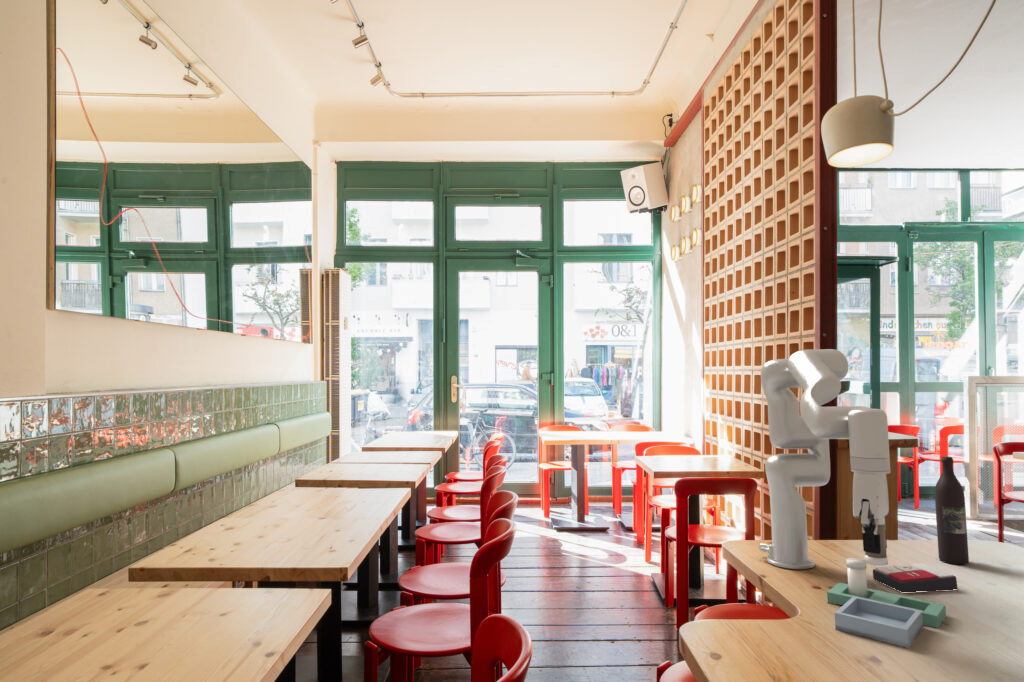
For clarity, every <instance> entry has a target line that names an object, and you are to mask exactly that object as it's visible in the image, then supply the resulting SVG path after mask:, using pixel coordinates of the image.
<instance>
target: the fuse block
mask: <svg viewBox="0 0 1024 682" xmlns="http://www.w3.org/2000/svg"><path fill="white" fill-rule="evenodd" d="M867 591H868V598H865V599H870V600H874V601H879V602H883V603H888V604H893V605H897V606H902V607H906V608H911V609H916V610H920V611H922V616H923V626H928V627H931V628H937V629H938V628H939V626H940V625H941V624H942V622H943V621H944V619H945V618H944V617H945V616H947V613H946V612H947V611H946V610H947V609H946V604H945V603H940V602H934V601H931V600H927V599H926V600H925V599H921V598H916V597H911V596H906V595H901V594H898V593H897V594H896V593H892V592H887V591H886V592H885V591H882V590H878V589H872V588H868V587H867ZM826 593H827V595H826V597H827V603H828V602H829V604H832V603H835V604H834V605H836V604H839V605H838V606H840V605H844V604H845V603H846V602H847V601H848V600H850V599H851V598H852V597H853V596H854V595H849V591H848V583H845V582H838V583H836V584H835V585H834V586H833V587H831V589H829V590H828V591H827V592H826ZM856 597H858V596H856ZM860 598H863V597H860Z"/></svg>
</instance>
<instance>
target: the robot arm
mask: <svg viewBox="0 0 1024 682" xmlns="http://www.w3.org/2000/svg"><path fill="white" fill-rule="evenodd" d="M848 373H849V363H848V359H847V357H846V355H845V354H844V353H843V352H842V351H840V350H839V349H836V348H835V349H833V348H825V349H820V348H817V349H800V350H797V351H795V352H793V353H792V354H791V355H790V356H789V358H777V359H776V358H775V359H771V360H768V361H766V362H764V364H763V365H762V367H761V370H760V383H761V386H762V389H763V393H764V395H765V399H766V403H767V416H768V417H767V418H768V420H767V421H768V437H769V441H770V444H771V446H773V447H774V448H776V449H781V450H807V452H808V453H796V452H795V453H777V454H773V455H770V456H768V458H767V459H766V460H765V465H764V469H765V471H764V472H765V475H766V479H767V484H768V491H769V503H770V525H771V543H770V544H766V543H763V542H761V543H759V545H758V548H759V551H760V552H763V553H767V554H768V555H767V556H766V557H767V563H769V564H770V565H773V566H775V567H779V568H783V569H790V570H806V569H808V570H809V569H812V568H814V567H815V565H816V563H815V560H814V559H813V558H812V557H809V545H808V544H809V543H808V540H809V539H808V526H807V523H808V522H807V505H806V501H805V499H804V498H803V496H802V495H801V493H799V492H798V490H797V488H800V487H822V486H826V485H827V484H828V483H829V481H830V478H831V457H830V440H839V439H840V440H842V439H843V440H844V439H848V443H849V446H848V447H849V461H850V463H849V464H850V472H853V477H852V516H853V517H854V518H855V519H859V518H860V524H861V533H862V549H863V550H862V551H863V552H864V553H865V552H869V553H875V554H880V553H881V545H880V535H879V534H878V520H879V519H881V518H883V517H884V516H885V517H886V516H887V515H888V514H889V511H890V501H889V490H888V489H889V488H888V487H889V486H888V479H887V475H888V474H891V458H890V457H891V456H890V443H889V442H890V439H889V426H888V415H887V413H886V411H885V410H883V409H880V408H870V407H867V406H863V405H862V406H861V405H857V406H855V405H853V406H851V405H850V406H849V405H848V406H847V405H843V406H841V405H839V406H837V405H836V406H823V405H825V404H827V403H830V402H831V401H833V400H834V399H836V397H838V395H839V394H840V392H841V390H842V383H841V381H843V379H845V378H846V376H848ZM791 389H802V390H803V393H802V394H801V398H800V402H799V400H798V398H797V396H796V394H795V393H794V392H793V391H792V390H791ZM800 414H801V415H800ZM869 516H873V518H874V519H869ZM870 522H874V527H873V524H872V523H870ZM886 528H887V527H886V525H885V538H886V539H887V531H886ZM887 542H888V541H886V549H888V548H887V547H888V546H887V545H888V544H887Z"/></svg>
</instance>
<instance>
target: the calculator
mask: <svg viewBox="0 0 1024 682" xmlns="http://www.w3.org/2000/svg"><path fill="white" fill-rule="evenodd" d="M872 577H873V579H872V580H874V579H875V580H874V581H876V580H877V581H876V582H878V581H879V582H878V583H880V582H881V583H880V584H882V583H884V584H886V585H888V586H890V587H892V588H895V589H896V590H899V591H901V592H916V591H932V592H937V591H936V590H953V589H958V581H957V577H956V576H955V575H954V574H951V573H950V572H946V571H944V570H942V569H939V568H936V567H934V566H931V565H929V564H926V563H923V562H921V563H913V564H909V563H906V564H905V563H904V564H897V565H893V566H892V565H888V566H887V565H885V566H879V567H874V568H873V569H872ZM884 584H883V585H884ZM886 585H885V586H886ZM888 586H887V587H888ZM890 587H889V588H890ZM892 588H891V589H892ZM896 590H895V591H896ZM901 592H900V593H901Z"/></svg>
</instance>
